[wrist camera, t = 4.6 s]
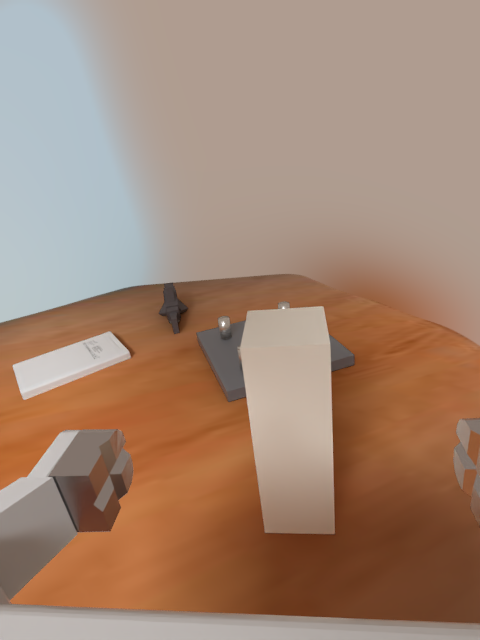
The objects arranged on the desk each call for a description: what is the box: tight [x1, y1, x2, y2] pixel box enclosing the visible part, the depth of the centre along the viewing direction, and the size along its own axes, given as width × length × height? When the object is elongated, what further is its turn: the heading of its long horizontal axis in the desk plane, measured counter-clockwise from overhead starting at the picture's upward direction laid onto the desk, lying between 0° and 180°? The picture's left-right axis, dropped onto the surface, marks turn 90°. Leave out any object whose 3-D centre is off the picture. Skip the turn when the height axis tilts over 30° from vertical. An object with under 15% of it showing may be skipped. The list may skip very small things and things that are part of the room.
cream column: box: [240, 306, 335, 534], centre depth 25 cm, size 4×4×14 cm
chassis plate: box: [196, 302, 354, 402], centre depth 47 cm, size 14×14×4 cm
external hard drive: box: [12, 331, 131, 400], centre depth 50 cm, size 2×8×12 cm
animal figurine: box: [159, 283, 188, 334], centre depth 59 cm, size 12×4×5 cm, turn 11°
